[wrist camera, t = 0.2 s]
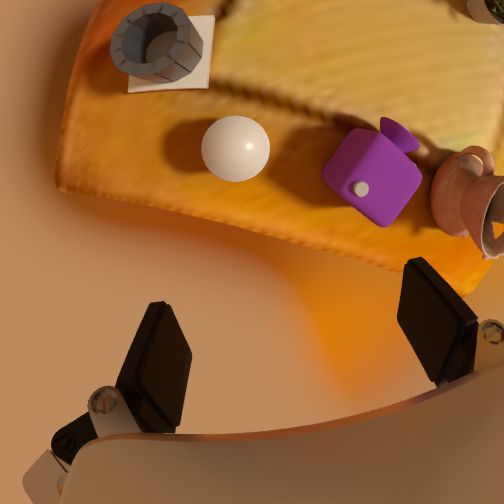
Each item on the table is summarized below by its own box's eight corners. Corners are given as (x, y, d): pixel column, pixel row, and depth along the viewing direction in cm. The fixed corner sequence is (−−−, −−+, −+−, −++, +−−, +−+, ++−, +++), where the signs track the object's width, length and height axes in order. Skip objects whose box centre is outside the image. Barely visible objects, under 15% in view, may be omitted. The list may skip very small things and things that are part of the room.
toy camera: (407, 136, 34) (446, 147, 25) (371, 212, 40) (400, 240, 31) (349, 101, 32) (381, 98, 23) (312, 185, 38) (331, 207, 29)
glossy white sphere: (211, 114, 33) (202, 114, 27) (268, 118, 33) (272, 118, 27) (208, 168, 37) (200, 179, 30) (263, 172, 37) (266, 183, 31)
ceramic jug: (477, 223, 40) (523, 255, 27) (425, 243, 42) (470, 286, 29) (472, 133, 32) (529, 148, 20) (414, 144, 34) (475, 161, 22)
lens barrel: (139, 25, 26) (110, 6, 17) (215, 18, 26) (204, -8, 18) (132, 93, 31) (99, 89, 22) (208, 89, 31) (194, 80, 23)
